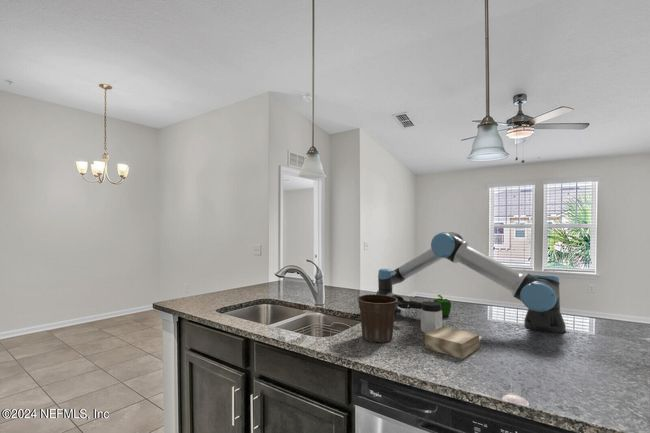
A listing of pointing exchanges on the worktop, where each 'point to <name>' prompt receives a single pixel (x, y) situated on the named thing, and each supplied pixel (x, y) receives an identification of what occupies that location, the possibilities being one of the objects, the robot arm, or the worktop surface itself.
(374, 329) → the plant pot
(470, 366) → the worktop surface
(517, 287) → the robot arm
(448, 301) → the bell pepper
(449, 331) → the maple block
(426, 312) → the jar
